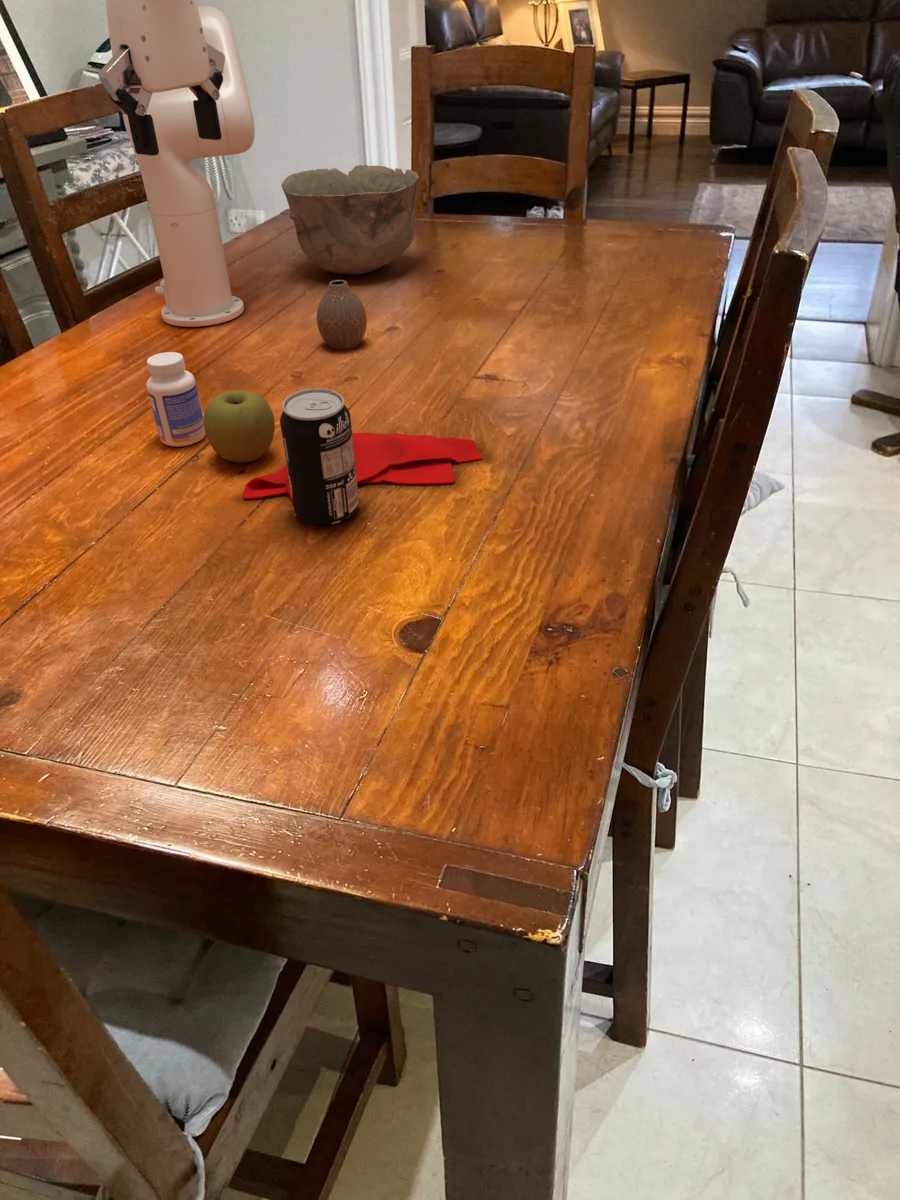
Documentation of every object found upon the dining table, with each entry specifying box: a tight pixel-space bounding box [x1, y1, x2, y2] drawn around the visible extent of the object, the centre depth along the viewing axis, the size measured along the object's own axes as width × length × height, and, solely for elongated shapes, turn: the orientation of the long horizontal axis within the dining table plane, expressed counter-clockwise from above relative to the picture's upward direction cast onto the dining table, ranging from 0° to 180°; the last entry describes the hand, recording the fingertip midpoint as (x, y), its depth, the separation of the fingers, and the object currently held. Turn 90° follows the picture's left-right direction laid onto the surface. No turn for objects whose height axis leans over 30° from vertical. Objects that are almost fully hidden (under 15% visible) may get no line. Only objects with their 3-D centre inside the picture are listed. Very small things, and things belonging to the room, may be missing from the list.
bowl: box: [281, 164, 420, 276], centre depth 157 cm, size 22×22×15 cm
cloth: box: [242, 432, 484, 504], centre depth 102 cm, size 26×14×2 cm, turn 99°
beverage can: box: [279, 388, 360, 526], centre depth 90 cm, size 7×7×12 cm
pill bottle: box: [146, 351, 206, 448], centre depth 107 cm, size 5×5×10 cm
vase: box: [316, 279, 368, 350], centre depth 130 cm, size 7×7×9 cm
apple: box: [203, 389, 276, 463], centre depth 103 cm, size 8×8×7 cm
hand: (180, 146), depth 107 cm, fingers open, 9 cm apart
